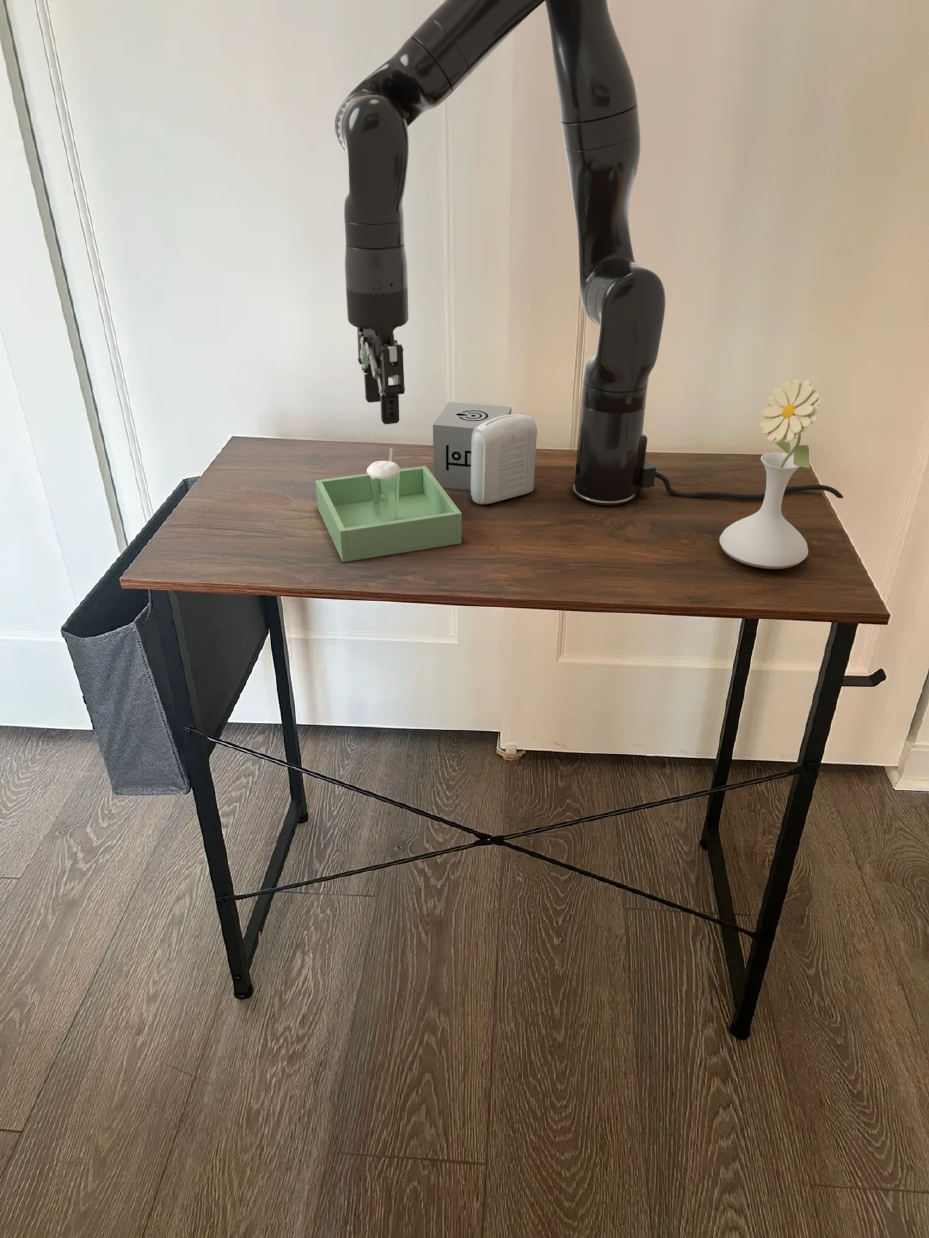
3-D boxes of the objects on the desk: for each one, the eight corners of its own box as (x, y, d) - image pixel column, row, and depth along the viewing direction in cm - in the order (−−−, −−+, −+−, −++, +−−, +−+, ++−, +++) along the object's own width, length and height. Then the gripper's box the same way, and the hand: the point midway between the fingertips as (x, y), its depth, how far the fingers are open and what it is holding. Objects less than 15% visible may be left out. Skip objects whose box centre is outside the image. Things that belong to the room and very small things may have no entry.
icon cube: (433, 486, 138) (432, 424, 132) (449, 461, 146) (448, 401, 140) (497, 493, 136) (499, 430, 131) (509, 467, 144) (511, 407, 139)
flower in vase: (709, 535, 125) (741, 356, 111) (792, 536, 125) (833, 358, 111) (730, 583, 114) (767, 392, 100) (820, 585, 114) (870, 393, 100)
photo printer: (521, 482, 139) (524, 405, 132) (538, 492, 136) (542, 414, 129) (466, 498, 134) (466, 419, 127) (482, 508, 131) (483, 428, 125)
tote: (426, 493, 136) (426, 465, 133) (461, 543, 123) (461, 513, 120) (318, 509, 131) (315, 480, 129) (342, 562, 118) (340, 531, 115)
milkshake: (409, 516, 128) (407, 450, 123) (394, 532, 124) (391, 465, 118) (380, 511, 129) (376, 446, 124) (364, 527, 125) (360, 460, 120)
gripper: (423, 295, 104) (425, 427, 113) (391, 269, 115) (395, 391, 124) (360, 299, 102) (367, 434, 111) (334, 272, 113) (342, 397, 122)
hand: (381, 411), depth 118 cm, fingers open, 8 cm apart
